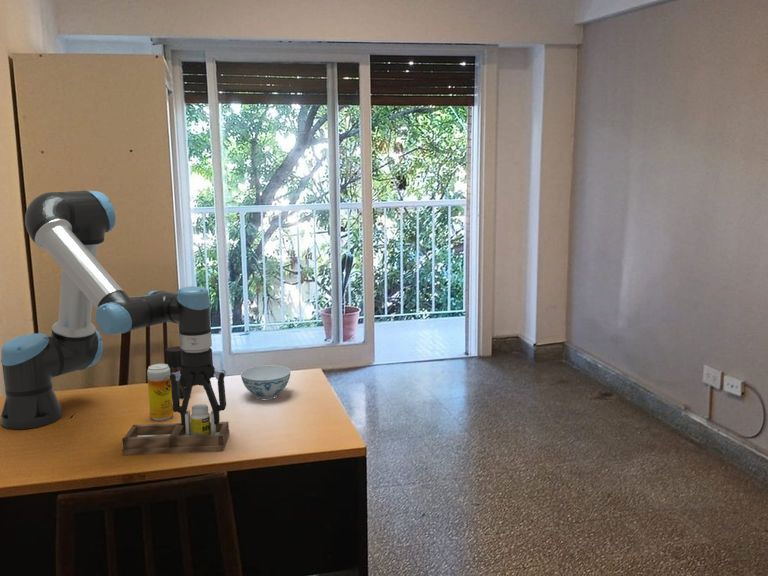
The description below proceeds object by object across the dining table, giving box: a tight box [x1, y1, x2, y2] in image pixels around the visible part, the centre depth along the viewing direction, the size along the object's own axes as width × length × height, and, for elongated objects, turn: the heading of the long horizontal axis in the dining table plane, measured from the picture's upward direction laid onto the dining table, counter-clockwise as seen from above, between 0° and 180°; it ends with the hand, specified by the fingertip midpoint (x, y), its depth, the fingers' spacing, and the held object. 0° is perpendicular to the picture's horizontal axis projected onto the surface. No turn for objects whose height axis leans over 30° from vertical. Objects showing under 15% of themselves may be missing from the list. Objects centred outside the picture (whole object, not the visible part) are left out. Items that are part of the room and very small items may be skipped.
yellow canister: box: [146, 363, 174, 422], centre depth 187 cm, size 6×6×15 cm
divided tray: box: [121, 421, 230, 456], centre depth 170 cm, size 24×11×4 cm, turn 95°
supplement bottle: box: [190, 403, 211, 435], centre depth 170 cm, size 5×5×8 cm
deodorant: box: [165, 345, 187, 400], centre depth 205 cm, size 6×6×15 cm
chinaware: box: [240, 364, 291, 400], centre depth 205 cm, size 15×15×8 cm
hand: (201, 436), depth 171 cm, fingers open, 6 cm apart
